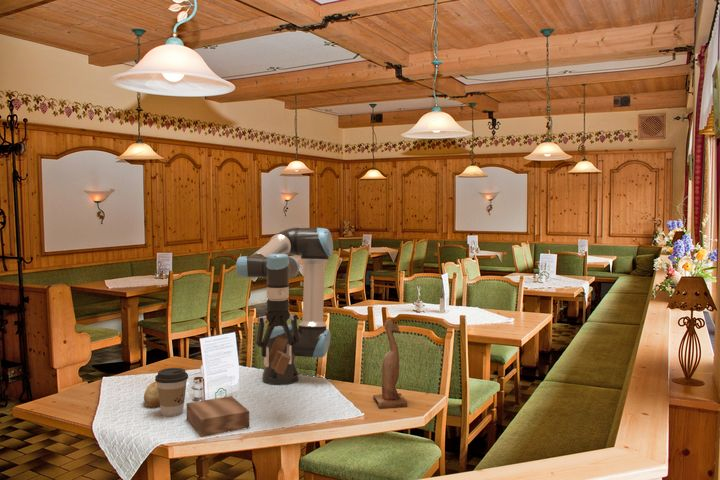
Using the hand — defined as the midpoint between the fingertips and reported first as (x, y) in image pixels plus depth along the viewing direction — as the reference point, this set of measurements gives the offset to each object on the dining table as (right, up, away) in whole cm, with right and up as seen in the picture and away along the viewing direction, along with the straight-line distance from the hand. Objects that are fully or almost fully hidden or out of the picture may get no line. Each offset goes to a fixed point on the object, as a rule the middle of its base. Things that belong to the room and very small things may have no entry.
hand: (277, 364), depth 205 cm
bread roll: (-46, -18, +17) cm, 53 cm away
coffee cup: (-38, -18, +5) cm, 43 cm away
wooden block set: (+1, -1, -1) cm, 2 cm away
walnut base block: (-20, -19, -4) cm, 28 cm away
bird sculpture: (+40, -18, +18) cm, 47 cm away
